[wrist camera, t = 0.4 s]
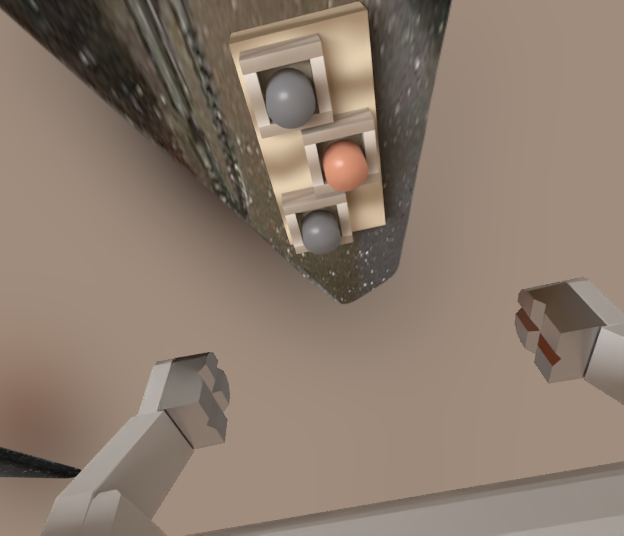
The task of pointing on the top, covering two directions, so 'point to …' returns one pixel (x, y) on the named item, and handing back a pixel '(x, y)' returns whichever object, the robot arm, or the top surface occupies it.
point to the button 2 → (320, 232)
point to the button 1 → (289, 98)
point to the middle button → (344, 165)
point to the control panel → (316, 113)
